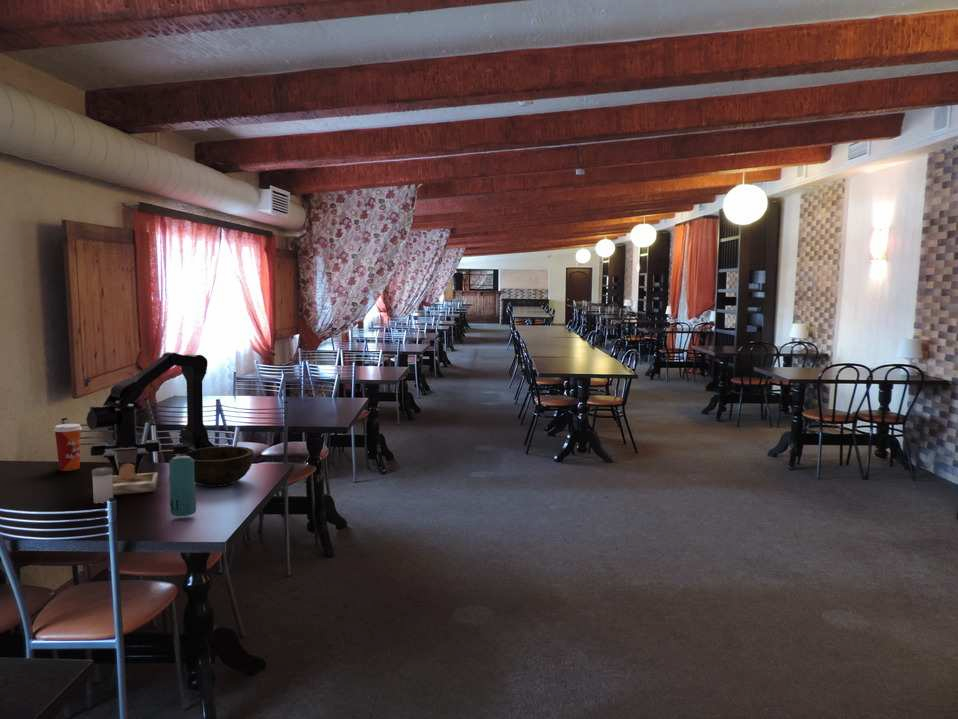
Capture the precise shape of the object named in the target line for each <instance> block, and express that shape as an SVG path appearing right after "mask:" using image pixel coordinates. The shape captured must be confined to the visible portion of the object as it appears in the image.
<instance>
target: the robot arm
mask: <svg viewBox="0 0 958 719" xmlns="http://www.w3.org/2000/svg"><path fill="white" fill-rule="evenodd" d="M174 366H176V367H180V369H181V374H182V375H183V377H184V379H185V381H186V382H185V383H186V411H187V412H186V416H187V417H186V418H187V420H186V422H187V423H186V426H185V428H181V429H180V435H181V436H180V442H181V444H188V445H189V449H190V450H194V449H200V448H207V447H216V446H215V445H214V444H213V442H211V441H210V438H209V433H208V430H207V428H206V426H205V425H204V413H203V412H204V408H203V407H204V406H203V380H204V378H205V376H206V374H207V372H208V359H207V358H206V357H205V355H203V354H194V353H186V354H180V353H177V352H169V351H168V352H167V351H166V352H165V353H163V354H162V356H160V357H159V358H158V359H156V360H155V361H154V362H152V363H151V364H150V365H148V366H147V367H145V368H144V369H142V371H140V372H139V373H137V374H136V375H135V376H133V377H130V378H127V379H125V380H122V381H120V382H118V383H117V384H113V386H112V387H111V389H110V394H109V395H108V396H107V398H106V400H105V401H104V403H103V405H100V406H95V405H94V406H90V408H89V411H88V413H87V416H86V418H85V419H86V424H87V427H88V429H89V430H91V431H94V430H100V429H108V428H109V429H110V428H113V427H114V429H113V430H112V434H111V435H112V437H111V438H112V441H113V442H115V444H111V445H110V444H108V442H97V443H96V442H95V443H94V444H92V446H91V447H90V456H91V457H96V456H103V458H104V459H108V462H109V463H110V464H111V466H112V469H113V470H114V472H115V474H116V475H117V476H119V468H120V466H119V462H118V452H121V451H122V452H123V451H137V453H136V455H135V456H136V457H135V466H134V467H135V474H136V475H137V474H139V473H138V472H139V469H140V466H141V462H142V460H143V458H144V456H148V453H153V452H154V453H157V452H160V451H161V441H160V439H146V441H145V442H143V443H142V442H141V443H138V441H139V438H138V437H139V436H138V432H137V416H136V410H141V409H143V408H144V407H143V406H142V405H140V404H139V403H138V401H137V400H138V399H139V398H140V397H141V396H142V395H143V393H144V391H145V390H146V388H147V387H148V386H149V385H151V384H152V383H153V382H155V381H156V380H157V379H158V378H160V377H161V376H162V375H164V374H165V373H166V372H167V371H169V370H170V369H172V368H174Z"/></svg>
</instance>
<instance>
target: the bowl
mask: <svg viewBox="0 0 958 719" xmlns="http://www.w3.org/2000/svg"><path fill="white" fill-rule="evenodd" d="M254 453H255V452H254V450H253V449H252V448H249V447H245V446H237V445H236V446H231V445H222V446H219V445H218V446H215V447H207V448H200V449H194V450H190V452H189V453H186V454H179V456H190V457H191V458H192V459H194V476H195V484H197V485H201V486H203V487H223V486H229V485H231V484H234V483H236V482H237V481H239V480H241V479H242V478H243V477H244V476H246V475H247V473H248V472H249V471H250V469H251V466H252V464H253V461H254V455H255V454H254Z"/></svg>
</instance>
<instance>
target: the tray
mask: <svg viewBox="0 0 958 719" xmlns="http://www.w3.org/2000/svg"><path fill="white" fill-rule="evenodd" d="M158 474H159V473H158V472H145V473H137V475H136V474H135V475H134V476H133V477H132V478H130V479H123V478H121V477H120V476H117V474H116V475H112V478H113V496H115V495H116V496H117V495H126V494H127V495H128V494H138V493H149V492H150V493H152V492H156V489H157V484H158V481H159V475H158Z"/></svg>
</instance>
